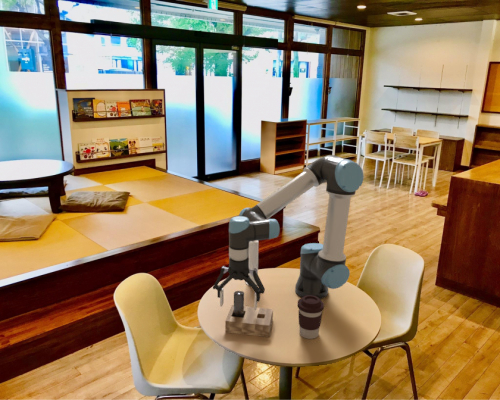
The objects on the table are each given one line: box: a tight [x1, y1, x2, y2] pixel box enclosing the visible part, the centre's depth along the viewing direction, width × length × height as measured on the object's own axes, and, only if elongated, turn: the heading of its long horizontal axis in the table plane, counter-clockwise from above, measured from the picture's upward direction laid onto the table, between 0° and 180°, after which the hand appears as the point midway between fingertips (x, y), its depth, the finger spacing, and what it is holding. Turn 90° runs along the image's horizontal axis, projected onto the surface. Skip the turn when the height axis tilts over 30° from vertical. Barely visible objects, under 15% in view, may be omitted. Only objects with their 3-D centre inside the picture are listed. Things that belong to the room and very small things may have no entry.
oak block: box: [224, 304, 274, 338], centre depth 167 cm, size 17×12×5 cm
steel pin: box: [233, 290, 245, 318], centre depth 166 cm, size 4×4×13 cm
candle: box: [245, 240, 260, 287], centre depth 199 cm, size 7×7×25 cm
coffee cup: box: [297, 295, 325, 340], centre depth 161 cm, size 10×10×15 cm
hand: (238, 306), depth 166 cm, fingers open, 13 cm apart
